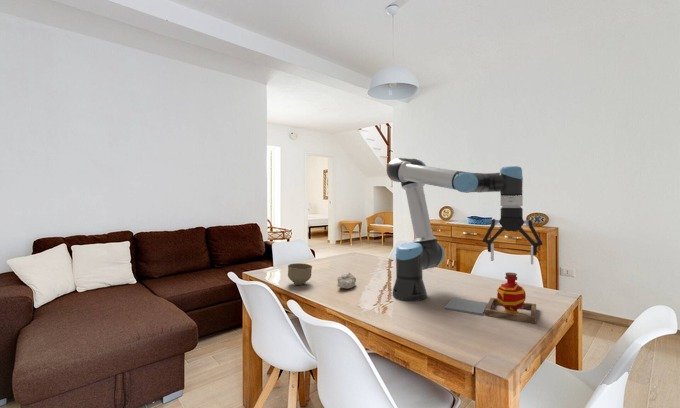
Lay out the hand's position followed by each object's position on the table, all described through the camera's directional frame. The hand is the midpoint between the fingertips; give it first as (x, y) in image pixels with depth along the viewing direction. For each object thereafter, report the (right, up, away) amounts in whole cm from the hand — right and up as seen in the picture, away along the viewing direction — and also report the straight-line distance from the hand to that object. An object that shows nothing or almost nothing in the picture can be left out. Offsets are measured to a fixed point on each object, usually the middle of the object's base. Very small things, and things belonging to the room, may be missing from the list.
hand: (511, 262), depth 126 cm
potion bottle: (0, -20, +1) cm, 20 cm away
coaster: (-14, -20, +8) cm, 25 cm away
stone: (-63, -20, +38) cm, 76 cm away
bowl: (-87, -20, +44) cm, 100 cm away
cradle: (0, -20, +1) cm, 20 cm away
